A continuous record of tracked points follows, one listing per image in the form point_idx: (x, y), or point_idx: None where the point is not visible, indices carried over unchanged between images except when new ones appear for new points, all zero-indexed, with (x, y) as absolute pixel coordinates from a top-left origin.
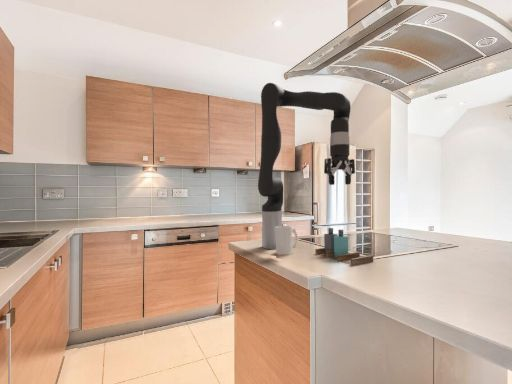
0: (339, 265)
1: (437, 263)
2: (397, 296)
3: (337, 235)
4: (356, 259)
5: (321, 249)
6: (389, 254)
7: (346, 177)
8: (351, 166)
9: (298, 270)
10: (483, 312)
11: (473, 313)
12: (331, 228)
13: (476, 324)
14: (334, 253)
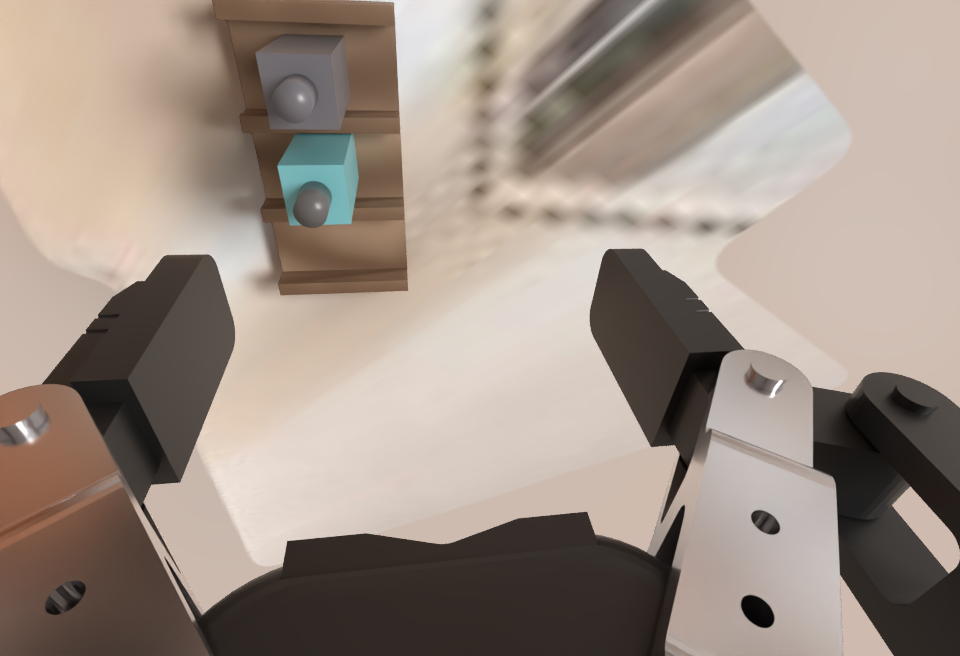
0: None
1: None
2: (244, 458)
3: (340, 127)
4: (303, 292)
5: (259, 20)
6: (619, 191)
7: (652, 356)
8: (935, 652)
9: (18, 177)
10: (334, 528)
11: (314, 526)
12: (287, 121)
13: (278, 543)
14: (296, 134)
